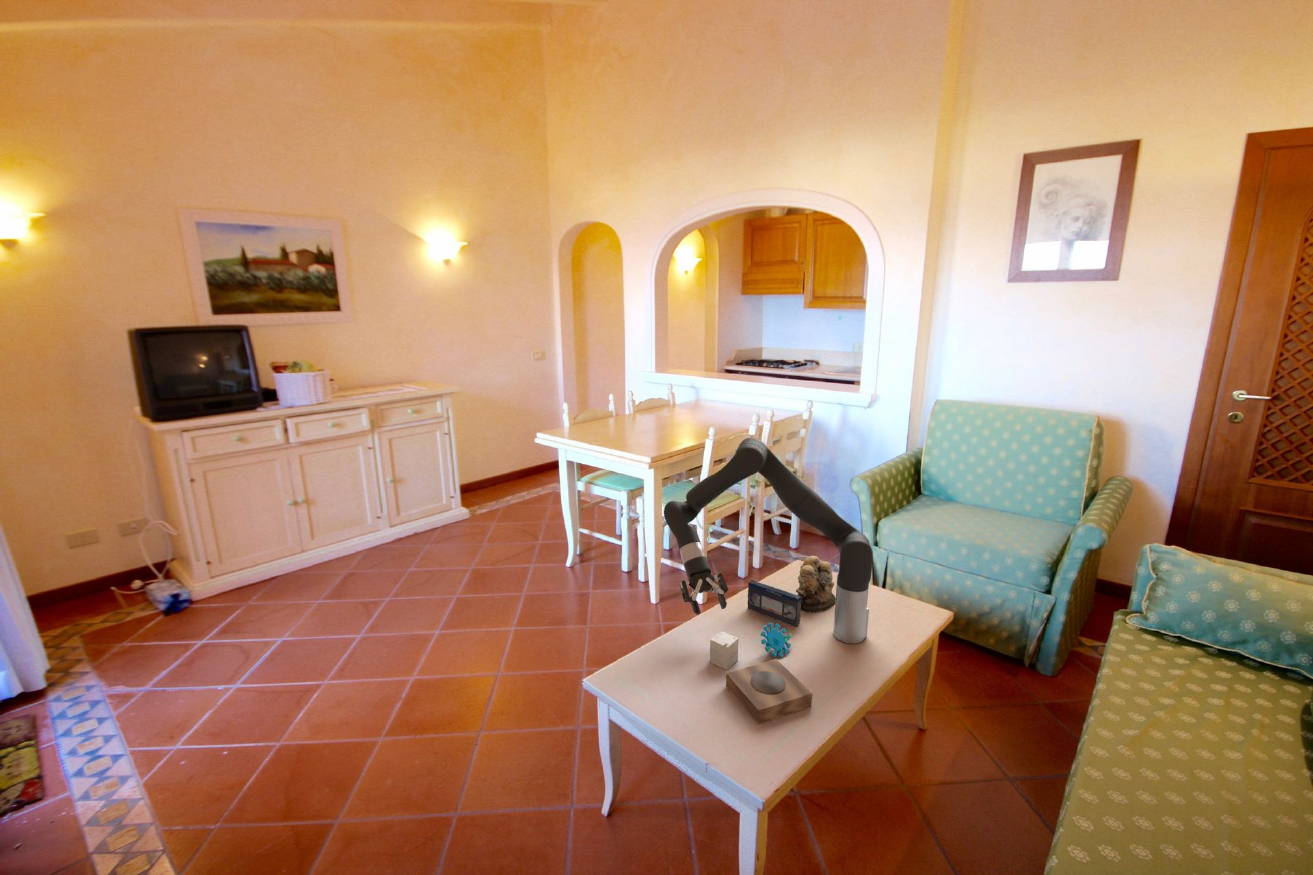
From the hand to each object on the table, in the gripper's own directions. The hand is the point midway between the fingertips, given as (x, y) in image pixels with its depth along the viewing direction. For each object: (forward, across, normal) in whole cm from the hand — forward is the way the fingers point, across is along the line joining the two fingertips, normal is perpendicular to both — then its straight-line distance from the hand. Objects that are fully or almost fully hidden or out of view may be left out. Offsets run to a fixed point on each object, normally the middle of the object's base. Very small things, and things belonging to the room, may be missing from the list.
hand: (711, 611), depth 174 cm
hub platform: (+27, +3, -10) cm, 29 cm away
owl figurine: (+2, +45, +15) cm, 47 cm away
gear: (+15, +17, +2) cm, 23 cm away
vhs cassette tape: (+4, +27, +14) cm, 30 cm away
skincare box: (+14, 0, +3) cm, 14 cm away
